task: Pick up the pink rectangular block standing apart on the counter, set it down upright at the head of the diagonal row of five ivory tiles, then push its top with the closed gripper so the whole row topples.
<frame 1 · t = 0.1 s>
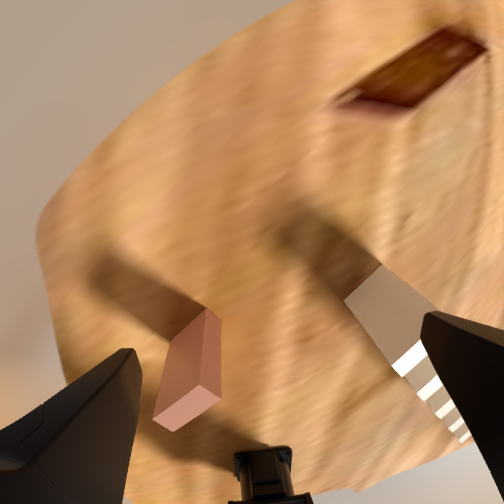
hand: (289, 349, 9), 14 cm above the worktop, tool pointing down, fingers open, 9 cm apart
pink rectangular block: (195, 330, 25), on the worktop
ivory tile 2: (391, 317, 26), on the worktop
ivory tile 1: (368, 288, 25), on the worktop
ivory tile 3: (410, 340, 27), on the worktop
ivory tile 4: (424, 360, 28), on the worktop
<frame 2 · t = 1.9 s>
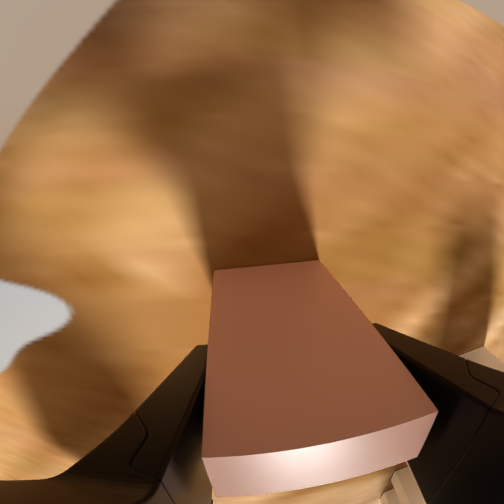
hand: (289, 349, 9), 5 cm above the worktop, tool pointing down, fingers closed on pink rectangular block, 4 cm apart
pink rectangular block: (268, 282, 13), on the worktop, touching gripper
ivory tile 5: (401, 488, 21), on the worktop
ivory tile 1: (459, 363, 16), on the worktop
ivory tile 4: (413, 468, 20), on the worktop
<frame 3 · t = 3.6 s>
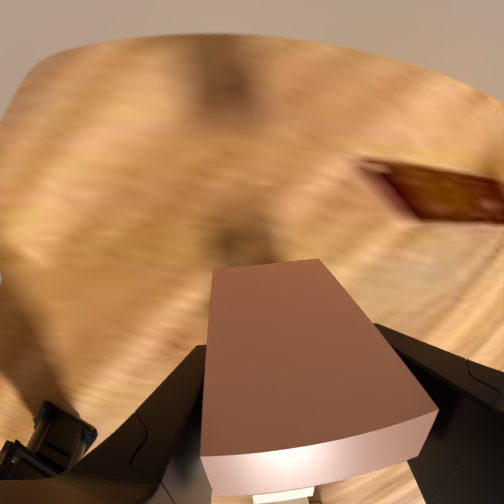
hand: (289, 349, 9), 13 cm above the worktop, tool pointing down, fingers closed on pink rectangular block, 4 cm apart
pink rectangular block: (268, 281, 13), point 8 cm above the worktop, touching gripper
ivory tile 3: (268, 415, 26), on the worktop
when the fingers open (5 cm above the worktop, at t = 5.4 s): pink rectangular block stays where it is, on the worktop.
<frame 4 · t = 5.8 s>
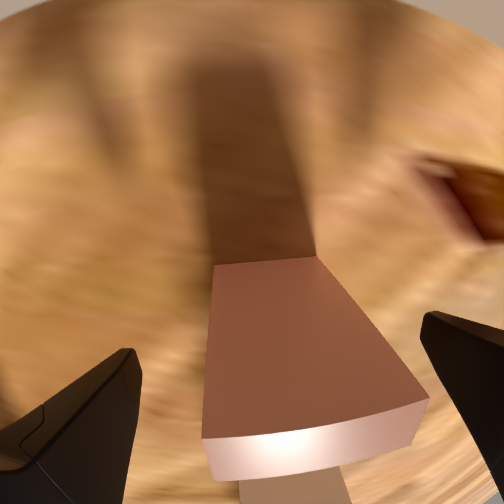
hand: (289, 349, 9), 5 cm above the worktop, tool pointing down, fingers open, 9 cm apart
pink rectangular block: (267, 278, 14), on the worktop
ivory tile 1: (274, 409, 16), on the worktop
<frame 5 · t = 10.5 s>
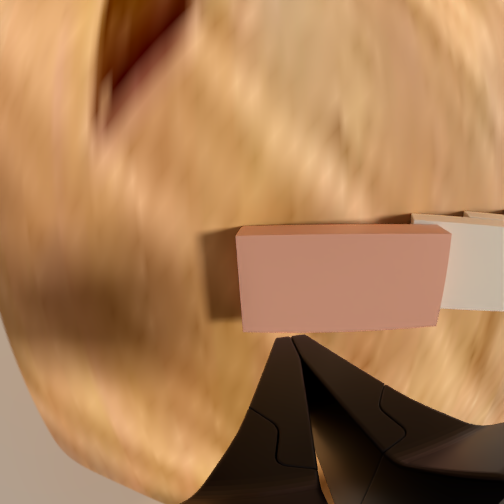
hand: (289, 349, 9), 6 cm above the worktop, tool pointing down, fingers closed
pink rectangular block: (242, 279, 14), point 1 cm above the worktop, tilted 78°
ivory tile 1: (409, 259, 14), point 1 cm above the worktop, tilted 62°, touching ivory tile 2
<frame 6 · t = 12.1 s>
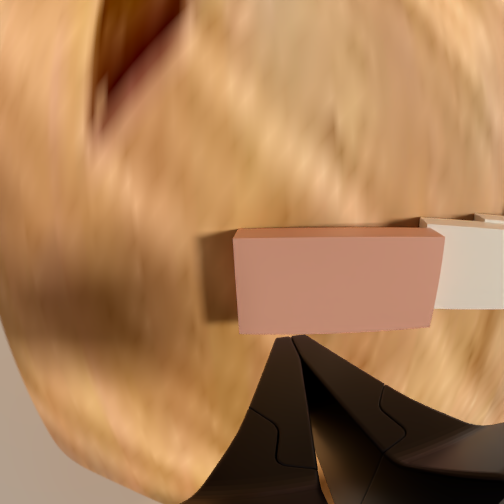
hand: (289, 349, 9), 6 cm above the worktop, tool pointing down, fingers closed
pink rectangular block: (238, 281, 14), point 1 cm above the worktop, tilted 80°, touching ivory tile 1
ivory tile 2: (475, 253, 15), point 1 cm above the worktop, tilted 70°, touching ivory tile 1, ivory tile 3
ivory tile 1: (419, 262, 14), point 1 cm above the worktop, tilted 69°, touching ivory tile 2, pink rectangular block
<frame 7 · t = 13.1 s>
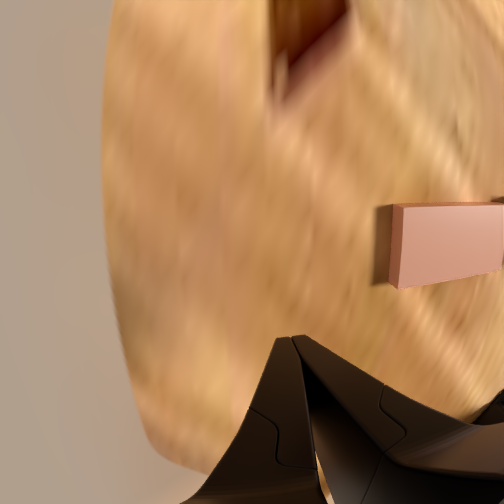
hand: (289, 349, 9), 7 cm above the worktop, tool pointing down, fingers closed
pink rectangular block: (394, 245, 16), on the worktop, tilted 90°
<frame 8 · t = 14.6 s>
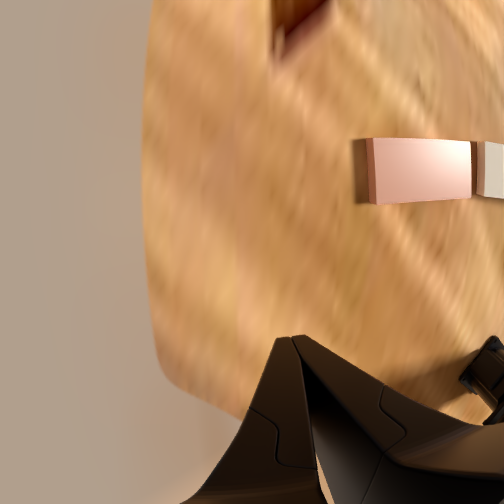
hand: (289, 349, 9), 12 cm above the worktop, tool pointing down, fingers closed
pink rectangular block: (370, 170, 20), on the worktop, tilted 90°
ivory tile 1: (481, 168, 19), point 1 cm above the worktop, tilted 71°, touching ivory tile 2
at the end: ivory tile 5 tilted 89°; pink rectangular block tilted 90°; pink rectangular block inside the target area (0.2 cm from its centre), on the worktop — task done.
